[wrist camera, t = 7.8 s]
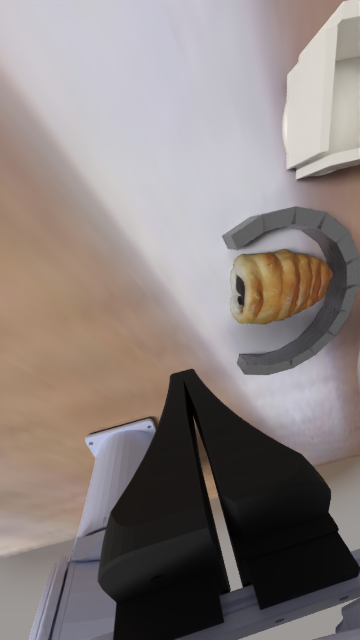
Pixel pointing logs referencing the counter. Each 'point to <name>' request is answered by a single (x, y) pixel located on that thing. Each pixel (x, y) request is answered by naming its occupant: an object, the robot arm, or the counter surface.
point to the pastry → (276, 285)
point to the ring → (339, 291)
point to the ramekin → (325, 98)
